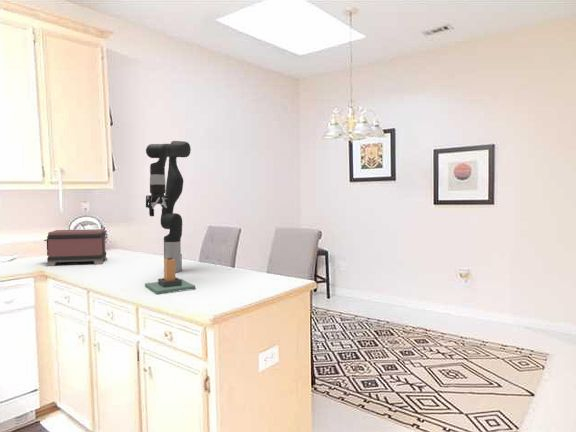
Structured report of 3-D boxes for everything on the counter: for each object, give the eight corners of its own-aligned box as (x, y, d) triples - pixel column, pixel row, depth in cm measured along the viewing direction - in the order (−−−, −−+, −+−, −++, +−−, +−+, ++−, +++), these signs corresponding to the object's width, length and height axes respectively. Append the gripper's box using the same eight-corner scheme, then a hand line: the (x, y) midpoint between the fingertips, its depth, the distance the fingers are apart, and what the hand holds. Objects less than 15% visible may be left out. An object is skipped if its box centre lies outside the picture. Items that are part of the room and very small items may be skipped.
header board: (181, 282, 202) (181, 274, 202) (195, 289, 187) (195, 280, 187) (144, 286, 192) (144, 278, 191) (156, 294, 177) (156, 285, 177)
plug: (172, 283, 192) (172, 257, 191) (175, 284, 189) (175, 258, 188) (164, 284, 190) (163, 257, 189) (166, 285, 187) (166, 259, 186)
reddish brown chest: (50, 261, 259) (49, 229, 258) (107, 259, 268) (106, 229, 267) (40, 266, 241) (39, 232, 240) (102, 264, 250) (101, 231, 249)
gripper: (161, 184, 210) (162, 215, 211) (141, 183, 197) (141, 216, 198) (173, 184, 207) (173, 215, 208) (153, 183, 194) (153, 216, 195)
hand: (158, 215), depth 203 cm, fingers open, 8 cm apart
